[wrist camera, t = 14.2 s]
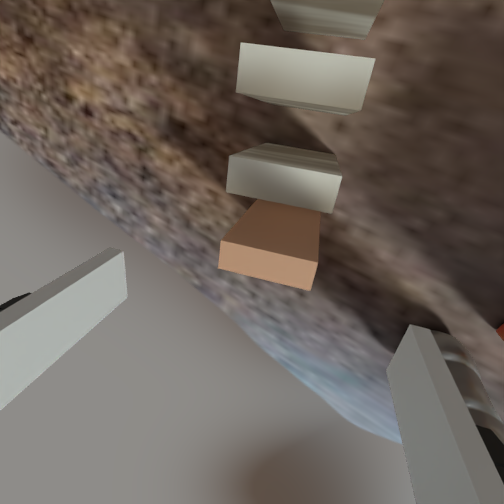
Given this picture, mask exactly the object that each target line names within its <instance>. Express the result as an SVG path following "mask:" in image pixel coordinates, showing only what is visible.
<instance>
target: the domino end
mask: <svg viewBox="0 0 504 504" xmlns="http://www.w3.org/2000/svg"><path fill="white" fill-rule="evenodd" d="M320 214H321V211H316V210H311V209H306V208H301V207H296V206H291V205H286V204H281V203H276V202H272V201H267V200H262V199H257V200H256V201H255V202H254V203H253V204H252V206H251V207H250V208H249V209H248V210H247V211H246V212H245V214H244V215H243V216H242V217H241V218H240V219H239V220H238V222H237V223H236V224H235V225H234V226H233V227H232V228H231V230H230V231H229V232H228V233H227V234H226V235H225V236H224V237H223V239H222V240H221V245H220V255H219V265H218V268H219V269H223V270H227V271H231V272H235V273H240V274H244V275H248V276H252V277H256V278H260V279H264V280H268V281H272V282H276V283H280V284H284V285H288V286H292V287H296V288H300V289H305V290H309V291H310V290H311V287H312V283H313V279H314V276H315V272H316V269H317V265H318V256H319V235H320Z"/></svg>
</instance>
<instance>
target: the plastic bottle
mask: <svg viewBox="0 0 504 504" xmlns="http://www.w3.org/2000/svg"><path fill="white" fill-rule="evenodd" d="M430 331H431V333H432V335H433V337H434V339H435V341H436V343H437V345H438V348H439V350H440V352H441V354H442V356H443V358H444V360H445V362H446V364H447V366H448V369H449V371H450V373H451V375H452V377H453V379H454V381H455V383H456V385H457V387H458V390H459V392H460V394H461V396H462V398H463V400H464V402H465V404H466V406H467V408H468V410H469V413H470V415H471V417H472V419H473V421H474V423H475V425H478V426H482V427H485V428H488V429H491V430H492V431H493V432H494V434H495V435H496V436H497V437H498V438H499V439H500V441H501V442H502V443H503V444H504V423H503V421H502V420H501V418H500V417H499V415H498V414H497V412H496V411H495V409H494V407H493V405H492V403H491V401H490V398H489V396H488V394H487V392H486V390H485V388H484V386H483V384H482V382H481V377H480V374H479V371H478V368H477V366H476V364H475V361H474V359H473V357H472V355H471V354H470V352H469V351H468V350H467V349H466V348H465V347H464V346H463V345H462V344H461V342H460V341H458V340H457V339H456V338H455V337H453V336H451V335H449V334H446V333H443V332H440V331H435V330H430Z"/></svg>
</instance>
